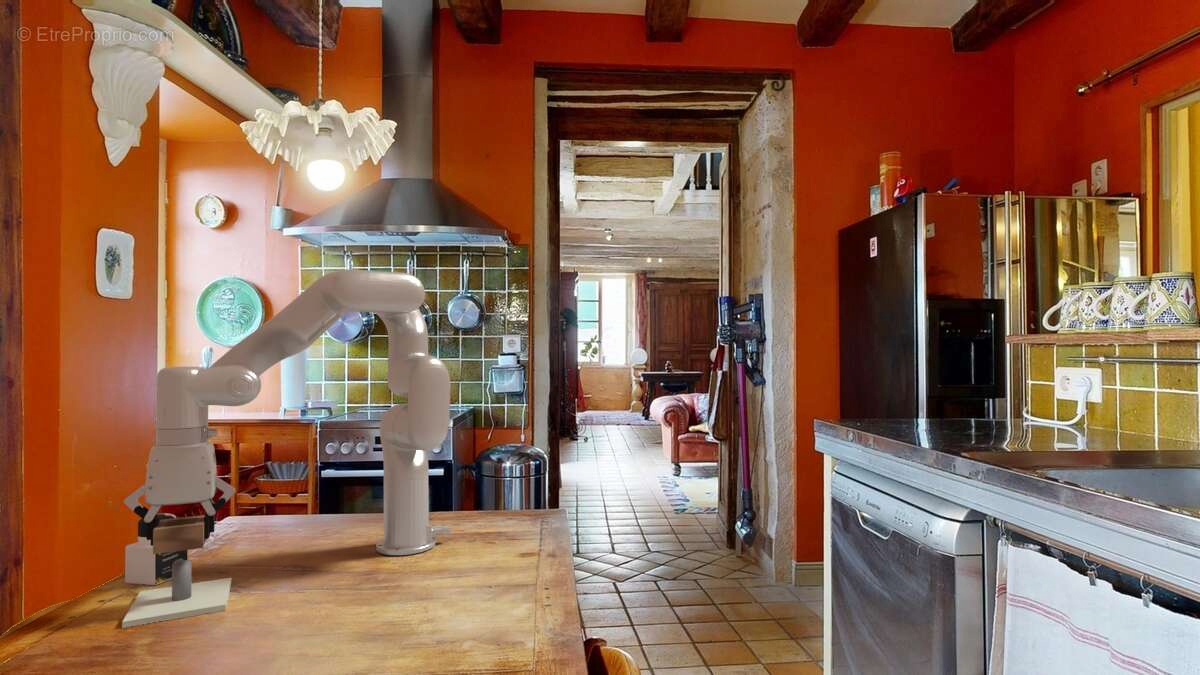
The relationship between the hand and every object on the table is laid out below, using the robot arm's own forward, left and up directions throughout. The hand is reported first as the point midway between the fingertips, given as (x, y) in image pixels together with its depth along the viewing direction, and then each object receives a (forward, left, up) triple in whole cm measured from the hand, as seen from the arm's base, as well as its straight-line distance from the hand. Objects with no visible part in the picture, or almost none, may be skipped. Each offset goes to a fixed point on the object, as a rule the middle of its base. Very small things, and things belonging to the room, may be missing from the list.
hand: (181, 539), depth 107 cm
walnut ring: (0, 0, -1) cm, 1 cm away
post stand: (0, 0, -11) cm, 11 cm away
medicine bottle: (+6, -17, -11) cm, 21 cm away
